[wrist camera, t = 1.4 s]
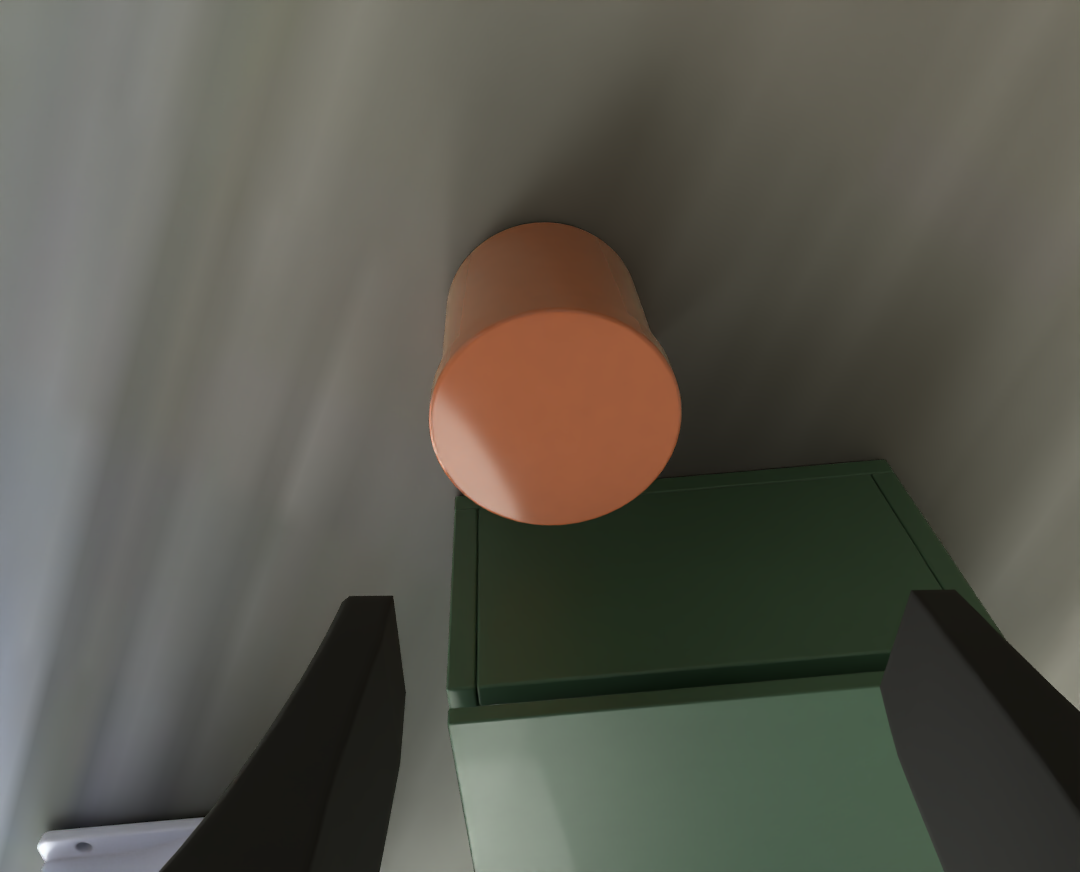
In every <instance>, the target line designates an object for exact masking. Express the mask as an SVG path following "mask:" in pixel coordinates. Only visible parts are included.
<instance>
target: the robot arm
mask: <svg viewBox="0 0 1080 872" xmlns="http://www.w3.org/2000/svg"><path fill="white" fill-rule="evenodd" d="M880 690H881V694H882V698H883V702H884V706H885V710H886V714H887V718H888V722H889V726H890V730H891V734H892V737H893V741H894V744H895V748H896V751H897V755H898V758H899V761H900V763H901V766H902V768H903V771H904V774H905V776H906V779H907V781H908V784H909V786H910V789H911V791H912V794H913V796H914V799H915V801H916V804H917V806H918V809H919V811H920V814H921V816H922V819H923V821H924V824H925V826H926V829H927V831H928V833H929V836H930V838H931V841H932V843H933V846H934V848H935V851H936V853H937V856H938V858H939V860H940V863H941V865H942V868H943V870H944V872H1080V711H1079V710H1078V709H1076V708H1075V707H1074V706H1073V705H1072V704H1071V703H1070V702H1069V701H1068V700H1067V699H1066V698H1065V697H1064V696H1063V695H1062V694H1061V693H1059V692H1058V691H1057V690H1056V689H1055V688H1054V687H1053V686H1052V685H1051V684H1050V683H1049V682H1048V681H1047V680H1046V679H1045V678H1044V677H1043V676H1042V675H1041V674H1040V673H1039V672H1038V671H1037V670H1036V669H1035V668H1034V667H1033V666H1032V665H1031V664H1030V663H1029V662H1027V661H1026V660H1025V659H1024V658H1023V657H1022V656H1021V655H1020V654H1019V653H1018V652H1017V651H1016V650H1015V649H1014V648H1013V647H1012V646H1011V645H1010V644H1009V643H1008V642H1007V641H1006V640H1005V639H1004V638H1003V637H1002V636H1001V635H1000V634H999V633H998V632H997V631H996V630H995V629H994V628H993V627H992V626H991V625H990V624H989V623H988V622H987V621H986V620H985V619H984V618H983V617H982V616H981V615H980V614H979V613H978V612H977V611H976V610H975V609H974V608H973V607H972V606H971V605H970V604H969V603H968V602H967V601H966V600H965V599H964V598H963V597H962V596H961V595H960V594H959V593H958V592H957V591H956V590H955V589H951V590H911V592H910V595H909V598H908V601H907V604H906V607H905V610H904V614H903V617H902V620H901V623H900V626H899V629H898V632H897V635H896V638H895V641H894V644H893V647H892V650H891V654H890V657H889V660H888V663H887V666H886V669H885V672H884V675H883V678H882V681H881V684H880ZM405 696H406V691H405V683H404V676H403V668H402V660H401V653H400V645H399V637H398V630H397V622H396V614H395V607H394V599H393V596H349V597H348V598H347V599H345V600H344V601H343V602H342V603H341V605H340V607H339V610H338V612H337V614H336V616H335V618H334V620H333V622H332V624H331V626H330V628H329V630H328V632H327V634H326V635H325V637H324V639H323V641H322V643H321V645H320V646H319V648H318V650H317V652H316V654H315V655H314V657H313V659H312V661H311V662H310V664H309V666H308V668H307V669H306V671H305V673H304V674H303V676H302V678H301V680H300V681H299V683H298V684H297V686H296V688H295V689H294V691H293V692H292V694H291V695H290V697H289V699H288V700H287V702H286V703H285V705H284V707H283V708H282V710H281V711H280V713H279V715H278V716H277V718H276V719H275V721H274V722H273V724H272V726H271V727H270V729H269V730H268V732H267V733H266V734H265V736H264V737H263V739H262V740H261V742H260V743H259V744H258V746H257V747H256V749H255V750H254V751H253V753H252V754H251V756H250V757H249V759H248V760H247V761H246V763H245V764H244V766H243V767H242V768H241V770H240V771H239V773H238V774H237V776H236V777H235V778H234V780H233V781H232V783H231V784H230V785H229V787H228V788H227V789H226V791H225V792H224V793H223V794H222V796H221V797H220V798H219V800H218V801H217V802H216V804H215V805H214V806H213V807H212V809H211V810H210V811H209V813H208V814H207V815H206V816H205V817H200V818H188V819H177V820H166V821H154V822H143V823H132V824H120V825H109V826H98V827H86V828H75V829H64V830H53V831H48V832H46V833H44V834H43V835H42V837H41V839H40V841H39V843H38V846H37V848H38V851H39V853H40V854H41V856H42V858H43V859H44V861H45V863H44V865H43V867H42V870H41V872H379V871H380V866H381V861H382V855H383V850H384V845H385V840H386V835H387V830H388V824H389V819H390V814H391V809H392V803H393V798H394V793H395V787H396V782H397V777H398V771H399V766H400V757H401V746H402V735H403V722H404V709H405Z"/></svg>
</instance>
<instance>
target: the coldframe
mask: <svg viewBox="0 0 1080 872" xmlns="http://www.w3.org/2000/svg"><path fill="white" fill-rule="evenodd" d="M951 589H955V590H956V591H957V592H958V593H959V594H960V595H961V596H962V597H963V598H964V599H965V600H966V601H967V602H968V603H969V604H970V605H971V606H972V607H973V608H974V609H975V610H976V611H977V612H978V613H979V614H980V615H981V616H982V617H983V618H984V619H985V620H986V621H987V622H988V623H989V624H990V625H991V626H992V627H993V628H994V629H995V630H996V631H997V632H998V633H999V634H1000V635H1001V636H1002V637H1003V638H1004V636H1003V635H1002V633H1001V632H1000V630H999V629H998V627H997V626H996V624H995V623H994V621H993V620H992V618H991V617H990V615H989V614H988V612H987V611H986V609H985V608H984V606H983V605H982V603H981V602H980V600H979V599H978V597H977V596H976V594H975V593H974V591H973V590H972V588H971V587H970V585H969V584H968V582H967V581H966V579H965V578H964V576H963V575H962V573H961V572H960V570H959V569H958V567H957V566H956V564H955V563H954V561H953V560H952V559H951V557H950V556H949V554H948V553H947V551H946V550H945V548H944V547H943V545H942V544H941V542H940V541H939V539H938V538H937V536H936V535H935V533H934V532H933V530H932V529H931V527H930V526H929V524H928V523H927V521H926V520H925V518H924V517H923V515H922V514H921V512H920V511H919V509H918V508H917V506H916V505H915V503H914V502H913V500H912V499H911V497H910V496H909V494H908V493H907V491H906V490H905V488H904V487H903V485H902V484H901V482H900V481H899V479H898V478H897V476H896V475H895V473H893V470H892V469H891V467H890V466H889V464H888V463H887V461H886V460H884V459H883V460H872V461H860V462H849V463H837V464H825V465H814V466H802V467H791V468H779V469H768V470H756V471H745V472H733V473H721V474H710V475H698V476H687V477H675V478H664V479H656V480H655V481H654V482H653V483H652V484H651V485H650V486H649V487H648V488H647V489H646V490H645V491H643V492H642V493H641V494H640V495H639V496H637V497H636V498H635V499H633V500H632V501H630V502H629V503H627V504H626V505H624V506H622V507H621V508H619V509H617V510H615V511H613V512H611V513H609V514H606V515H603V516H601V517H598V518H595V519H592V520H588V521H584V522H580V523H574V524H567V525H534V524H528V523H522V522H517V521H514V520H510V519H507V518H504V517H501V516H499V515H496V514H494V513H492V512H489V511H488V510H486V509H484V508H482V507H481V506H479V505H477V504H476V503H474V502H473V501H472V500H470V499H469V498H468V497H466V496H457V497H456V498H455V516H454V537H453V558H452V579H451V600H450V621H449V642H448V663H447V684H446V691H447V697H448V702H449V708H450V709H449V711H448V729H449V734H450V740H451V745H452V751H453V756H454V762H455V767H456V773H457V779H458V784H459V790H460V795H461V801H462V806H463V812H464V817H465V823H466V828H467V834H468V839H469V845H470V850H471V856H472V861H473V867H474V872H944V870H943V868H942V865H941V863H940V860H939V858H938V856H937V853H936V851H935V848H934V846H933V843H932V841H931V838H930V836H929V833H928V831H927V829H926V826H925V824H924V821H923V819H922V816H921V814H920V811H919V809H918V806H917V804H916V801H915V799H914V796H913V794H912V791H911V789H910V786H909V784H908V781H907V779H906V776H905V774H904V771H903V768H902V766H901V763H900V761H899V758H898V755H897V751H896V748H895V744H894V741H893V737H892V734H891V730H890V726H889V722H888V718H887V714H886V710H885V706H884V702H883V698H882V694H881V690H880V684H881V681H882V678H883V675H884V672H885V669H886V666H887V663H888V660H889V657H890V654H891V650H892V647H893V644H894V641H895V638H896V635H897V632H898V629H899V626H900V623H901V620H902V617H903V614H904V610H905V607H906V604H907V601H908V598H909V595H910V592H911V590H951ZM1004 639H1005V638H1004ZM1005 640H1006V639H1005Z"/></svg>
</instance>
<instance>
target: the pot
mask: <svg viewBox="0 0 1080 872" xmlns="http://www.w3.org/2000/svg"><path fill="white" fill-rule="evenodd" d="M681 419H682V403H681V395H680V390H679V386H678V383H677V380H676V377H675V374H674V372H673V369H672V366H671V364H670V361H669V359H668V357H667V355H666V353H665V351H664V350H663V348H662V346H661V344H660V343H659V342H658V341H657V339H656V338H655V337H654V336H653V334H652V333H651V331H650V328H649V325H648V322H647V319H646V317H645V314H644V311H643V308H642V305H641V302H640V300H639V297H638V294H637V291H636V288H635V285H634V283H633V280H632V278H631V275H630V273H629V271H628V269H627V267H626V266H625V264H624V262H623V261H622V260H621V259H620V257H619V256H618V255H617V253H616V252H615V251H614V250H612V249H611V248H610V247H609V246H608V245H607V244H606V243H605V242H603V241H602V240H600V239H599V238H598V237H596V236H594V235H592V234H590V233H589V232H587V231H584V230H582V229H579V228H576V227H573V226H569V225H565V224H560V223H550V222H540V223H529V224H523V225H519V226H515V227H512V228H509V229H506V230H504V231H502V232H499V233H497V234H495V235H494V236H492V237H490V238H489V239H487V240H486V241H484V242H483V243H482V244H480V245H479V246H478V247H477V248H475V250H474V251H473V252H472V253H471V254H470V255H469V256H468V257H467V258H466V259H465V261H464V262H463V263H462V265H461V266H460V268H459V269H458V271H457V273H456V275H455V277H454V279H453V281H452V284H451V287H450V290H449V294H448V299H447V307H446V319H445V330H444V342H443V353H442V360H441V362H440V364H439V366H438V369H437V372H436V374H435V377H434V381H433V385H432V389H431V396H430V406H429V433H430V438H431V442H432V446H433V450H434V452H435V455H436V457H437V460H438V462H439V463H440V465H441V467H442V469H443V470H444V472H445V474H446V475H447V476H448V477H449V479H450V480H451V481H452V483H453V484H454V485H455V486H456V487H457V488H458V489H459V490H460V491H461V492H462V493H463V494H464V495H465V496H466V497H468V498H469V499H470V500H472V501H473V502H474V503H476V504H477V505H479V506H481V507H482V508H484V509H486V510H488V511H489V512H492V513H494V514H496V515H499V516H501V517H504V518H507V519H510V520H514V521H517V522H522V523H528V524H534V525H567V524H574V523H580V522H584V521H588V520H592V519H595V518H598V517H601V516H603V515H606V514H609V513H611V512H613V511H615V510H617V509H619V508H621V507H622V506H624V505H626V504H627V503H629V502H630V501H632V500H633V499H635V498H636V497H637V496H639V495H640V494H641V493H642V492H643V491H645V490H646V489H647V488H648V487H649V486H650V485H651V484H652V483H653V482H654V481H655V480H656V478H657V477H658V476H659V474H660V473H661V472H662V470H663V469H664V468H665V466H666V464H667V462H668V461H669V459H670V457H671V455H672V453H673V451H674V448H675V446H676V443H677V441H678V436H679V432H680V428H681Z"/></svg>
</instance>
